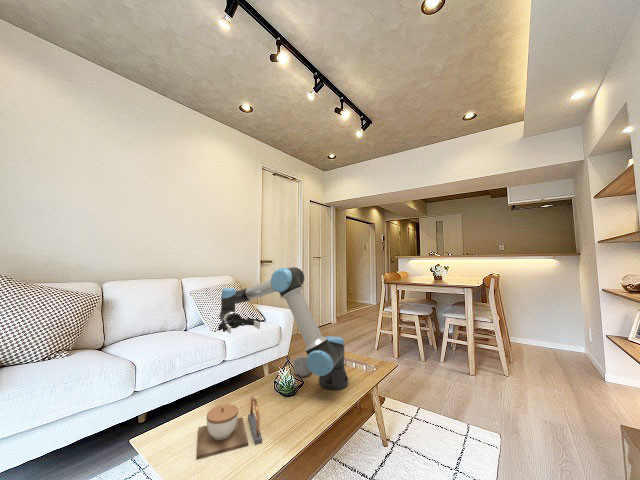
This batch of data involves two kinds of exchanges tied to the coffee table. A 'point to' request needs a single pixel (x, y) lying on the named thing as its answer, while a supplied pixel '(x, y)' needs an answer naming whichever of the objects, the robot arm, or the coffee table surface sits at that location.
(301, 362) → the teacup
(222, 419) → the lidded jar
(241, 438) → the pad
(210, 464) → the coffee table surface
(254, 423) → the wire stand
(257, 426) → the buzz wire
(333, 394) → the coffee table surface
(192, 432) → the coffee table surface
